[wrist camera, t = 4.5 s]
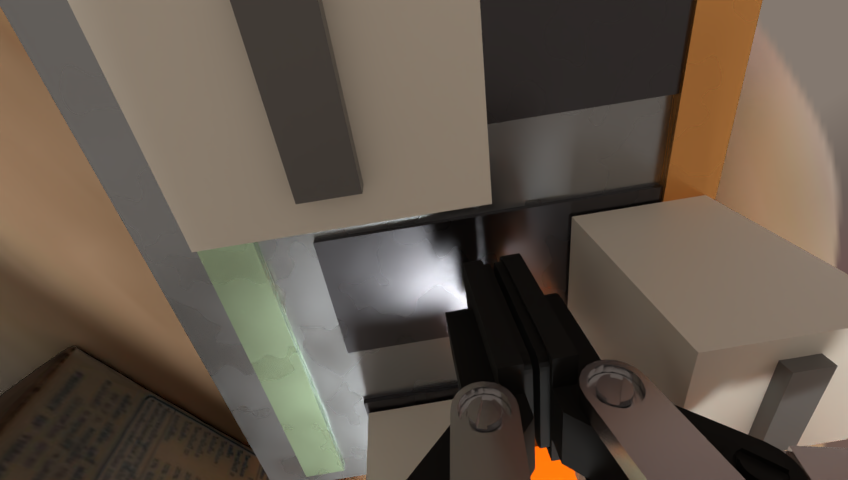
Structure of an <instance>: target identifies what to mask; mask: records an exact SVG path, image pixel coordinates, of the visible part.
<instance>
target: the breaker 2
mask: <svg viewBox="0 0 848 480" xmlns="http://www.w3.org/2000/svg"><path fill="white" fill-rule="evenodd" d="M452 400H453V399H452ZM452 400H446V401H440V402H434V403H428V404H422V405H416V406H409V407H403V408H397V409H391V410H385V411H379V412H373V413H369V421H368V446H367V470H366V480H406V479H407V478H408V477H409V476H410V474H411V473H412V472H413V471H414V469H415V468H416V467H417V466H418V464H419V463H420V462H421V461H422V459H423V458H424V457H425V456H426V454H427V453H428V452H429V451H430V449H431V448H432V447H433V446H434V444H435V443H436V442H437V441H438V439H439V438H440V437H441V436H442V434H443V433H444V432H445V431H446V429H447V428H448V427H449V426H450V409H451V404H452Z"/></svg>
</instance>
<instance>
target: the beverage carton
mask: <svg viewBox="0 0 848 480" xmlns="http://www.w3.org/2000/svg"><path fill="white" fill-rule="evenodd" d="M0 480H269V478H268V476H267V474H266V472H265V471H264V469H263V467H262V465H261V464H260V462H259V460H258V458H257V457H256V455H255V453H254V451H253V450H252V449H251V448H249V447H247V446H245V445H243V444H242V443H240V442H238V441H236V440H235V439H233V438H231V437H229V436H227V435H225V434H223V433H222V432H220V431H218V430H216V429H215V428H213V427H211V426H209V425H207V424H205V423H203V422H201V421H200V420H199V419H197V418H196V417H194V416H192V415H191V414H189V413H187V412H185V411H184V410H182V409H180V408H178V407H176V406H175V405H173V404H171V403H169V402H168V401H166V400H164V399H162V398H161V397H159V396H157V395H155V394H153V393H152V392H150V391H148V390H146V389H144V388H143V387H141V386H139V385H138V384H136V383H135V382H133V381H131V380H130V379H128V378H126V377H125V376H123V375H121V374H120V373H118V372H116V371H115V370H113V369H111V368H109V367H108V366H106V365H104V364H103V363H101V362H99V361H98V360H96V359H94V358H92V357H91V356H89V355H87V354H86V353H84V352H83V351H81V350H80V349H78V348H76V347H75V346H74V347H69V348H67V349H65V350H64V351H62V352H61V353H59V354H58V355H56V356H55V357H54V358H52V359H51V360H49V361H48V362H46V363H45V364H44V365H42V366H41V367H39V368H38V369H36V370H35V371H34V372H32V373H31V374H29V375H28V376H27V377H25V378H24V379H23V380H21V381H20V382H18V383H17V384H16V385H14V386H13V387H12V388H10V389H9V390H7V391H6V392H5V393H3V394H2V395H1V396H0Z"/></svg>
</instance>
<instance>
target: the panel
mask: <svg viewBox="0 0 848 480" xmlns="http://www.w3.org/2000/svg"><path fill="white" fill-rule="evenodd" d="M761 4H762V0H480V11H481V28H482V44H483V61H484V78H485V95H486V112H487V128H488V145H489V162H490V179H491V196H492V204H488V205H481V206H475V207H469V208H463V209H457V210H450V211H444V212H438V213H432V214H426V215H420V216H413V217H407V218H401V219H395V220H389V221H383V222H376V223H370V224H364V225H358V226H352V227H345V228H339V229H333V230H327V231H321V232H315V233H308V234H302V235H296V236H290V237H284V238H278V239H271V240H265V241H259V242H253V243H247V244H240V245H234V246H228V247H222V248H216V249H210V250H203V251H197V252H191V250H190V248H189V245H188V243H187V241H186V239H185V237H184V235H183V233H182V231H181V229H180V227H179V225H178V223H177V221H176V219H175V217H174V215H173V213H172V211H171V209H170V207H169V205H168V203H167V201H166V199H165V197H164V195H163V193H162V191H161V189H160V187H159V185H158V183H157V181H156V179H155V177H154V175H153V173H152V171H151V169H150V167H149V165H148V163H147V161H146V159H145V157H144V155H143V152H142V150H141V148H140V146H139V144H138V142H137V140H136V138H135V136H134V134H133V132H132V130H131V128H130V126H129V124H128V122H127V120H126V118H125V116H124V114H123V112H122V110H121V108H120V106H119V104H118V102H117V100H116V98H115V96H114V94H113V92H112V90H111V88H110V86H109V84H108V82H107V80H106V78H105V76H104V74H103V72H102V70H101V68H100V66H99V64H98V62H97V59H96V57H95V55H94V53H93V51H92V49H91V47H90V45H89V43H88V41H87V39H86V37H85V35H84V33H83V31H82V29H81V27H80V25H79V23H78V21H77V19H76V17H75V15H74V13H73V11H72V9H71V7H70V5H69V3H68V1H67V0H0V6H1V8H2V10H3V12H4V13H5V15H6V17H7V19H8V21H9V22H10V24H11V26H12V28H13V29H14V31H15V33H16V35H17V36H18V38H19V40H20V42H21V43H22V45H23V47H24V49H25V50H26V52H27V54H28V56H29V57H30V59H31V61H32V63H33V64H34V66H35V68H36V70H37V72H38V73H39V75H40V77H41V79H42V80H43V82H44V84H45V86H46V87H47V89H48V91H49V93H50V94H51V96H52V98H53V100H54V101H55V103H56V105H57V107H58V108H59V110H60V112H61V114H62V115H63V117H64V119H65V121H66V123H67V124H68V126H69V128H70V130H71V131H72V133H73V135H74V137H75V138H76V140H77V142H78V144H79V145H80V147H81V149H82V151H83V152H84V154H85V156H86V158H87V159H88V161H89V163H90V165H91V166H92V168H93V170H94V172H95V174H96V175H97V177H98V179H99V181H100V182H101V184H102V186H103V188H104V189H105V191H106V193H107V195H108V196H109V198H110V200H111V202H112V203H113V205H114V207H115V209H116V210H117V212H118V214H119V216H120V217H121V219H122V221H123V223H124V225H125V226H126V228H127V230H128V232H129V233H130V235H131V237H132V239H133V240H134V242H135V244H136V246H137V247H138V249H139V251H140V253H141V254H142V256H143V258H144V260H145V261H146V263H147V265H148V267H149V268H150V270H151V272H152V274H153V276H154V277H155V279H156V281H157V283H158V284H159V286H160V288H161V290H162V291H163V293H164V295H165V297H166V298H167V300H168V302H169V304H170V305H171V307H172V309H173V311H174V312H175V314H176V316H177V318H178V319H179V321H180V323H181V325H182V327H183V328H184V330H185V332H186V334H187V335H188V337H189V339H190V341H191V342H192V344H193V346H194V348H195V349H196V351H197V353H198V355H199V356H200V358H201V360H202V362H203V363H204V365H205V367H206V369H207V370H208V372H209V374H210V376H211V378H212V379H213V381H214V383H215V385H216V386H217V388H218V390H219V392H220V393H221V395H222V397H223V399H224V400H225V402H226V404H227V406H228V407H229V409H230V411H231V413H232V414H233V416H234V418H235V420H236V421H237V423H238V425H239V427H240V429H241V430H242V432H243V434H244V436H245V437H246V439H247V441H248V443H249V444H250V446H251V448H252V450H253V451H254V453H255V455H256V457H257V458H258V460H259V462H260V464H261V465H262V467H263V469H264V471H265V472H266V474H267V476H268V478H269V480H336V479H342V478H348V477H354V476H360V475H366V470H367V446H368V421H369V413H373V412H379V411H385V410H391V409H397V408H403V407H409V406H416V405H422V404H428V403H434V402H440V401H446V400H452V399H454V397H455V395H456V393H457V392H459V387H458V382H457V377H456V372H455V367H454V362H453V357H452V352H451V346H450V341H449V335H448V329H447V322H446V316H445V312H450V311H456V310H461V309H467V300H466V292H465V284H464V276H463V267H462V263H465V262H471V261H477V260H482V262H483V264H490V265H491V268H492V270H493V272H494V266H493V265H494V263H495V262H499V259H500V256H506V255H511V254H517V253H520V254H521V256H522V258H523V259H524V261H525V263H526V265H527V266H528V268H529V270H530V271H531V273H532V275H533V277H534V278H535V280H536V282H537V283H538V285H539V287H540V289H541V290H542V292H543V294H544V295H547V294H552V293H557V294H559V295H560V297H561V298H562V299H563V301H564V303H565V304H566V306H568V285H569V265H570V244H571V224H572V217H573V216H579V215H585V214H592V213H598V212H604V211H610V210H616V209H622V208H629V207H635V206H641V205H647V204H653V203H659V202H665V201H672V200H678V199H684V198H690V197H696V196H702V195H707V196H708V197H710V198H712V199H714V200H715V197H716V193H717V189H718V185H719V181H720V176H721V172H722V168H723V164H724V160H725V155H726V151H727V147H728V143H729V139H730V135H731V130H732V126H733V122H734V118H735V114H736V109H737V105H738V101H739V97H740V93H741V88H742V84H743V80H744V76H745V72H746V67H747V63H748V59H749V55H750V51H751V46H752V42H753V38H754V34H755V30H756V26H757V21H758V17H759V13H760V9H761ZM537 446H538V445H537V442H536V439H535V447H537Z"/></svg>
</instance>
